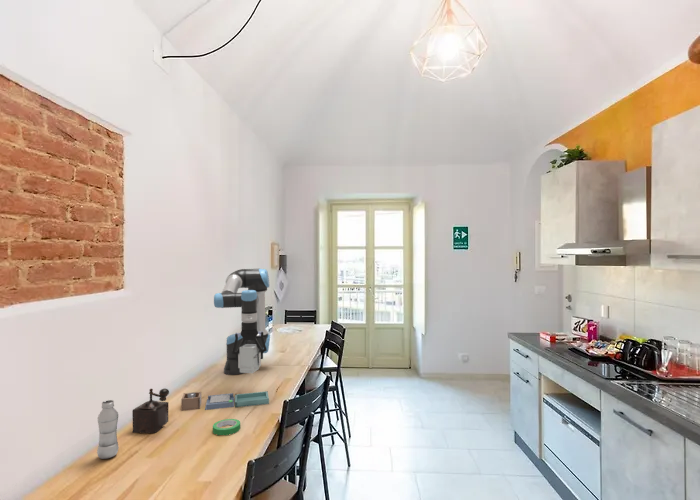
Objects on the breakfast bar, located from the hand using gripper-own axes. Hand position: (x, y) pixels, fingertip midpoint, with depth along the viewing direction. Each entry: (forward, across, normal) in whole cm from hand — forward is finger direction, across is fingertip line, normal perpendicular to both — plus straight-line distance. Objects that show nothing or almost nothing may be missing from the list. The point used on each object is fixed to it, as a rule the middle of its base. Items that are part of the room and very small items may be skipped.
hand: (249, 366), depth 196 cm
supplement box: (+2, 0, 0) cm, 2 cm away
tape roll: (+18, -10, -29) cm, 36 cm away
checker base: (+18, -14, 0) cm, 23 cm away
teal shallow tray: (+18, +1, 0) cm, 18 cm away
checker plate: (+15, -14, 0) cm, 21 cm away
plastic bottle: (+18, -50, -41) cm, 67 cm away
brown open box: (+18, -27, 0) cm, 32 cm away
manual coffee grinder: (+18, -39, -20) cm, 47 cm away
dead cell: (+17, -27, 0) cm, 32 cm away
